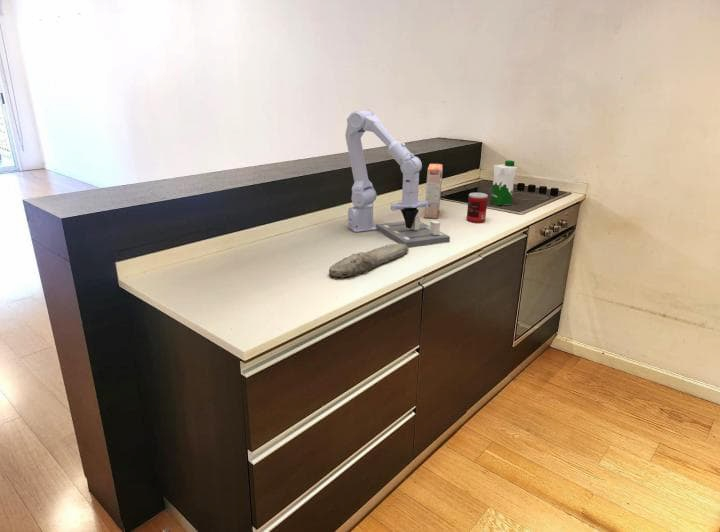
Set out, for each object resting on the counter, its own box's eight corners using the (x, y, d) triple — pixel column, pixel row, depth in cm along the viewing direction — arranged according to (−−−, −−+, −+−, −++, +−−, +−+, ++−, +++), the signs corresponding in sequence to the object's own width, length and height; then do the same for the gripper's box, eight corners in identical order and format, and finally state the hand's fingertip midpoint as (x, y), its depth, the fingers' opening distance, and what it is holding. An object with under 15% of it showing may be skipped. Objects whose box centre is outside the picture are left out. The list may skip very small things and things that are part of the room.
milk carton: (514, 205, 230) (520, 162, 223) (497, 207, 227) (502, 163, 220) (504, 201, 238) (509, 159, 230) (487, 202, 235) (491, 160, 228)
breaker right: (434, 235, 178) (435, 223, 176) (429, 232, 181) (430, 221, 179) (439, 234, 179) (440, 222, 177) (434, 232, 182) (435, 220, 180)
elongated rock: (415, 258, 167) (392, 252, 174) (416, 242, 166) (393, 238, 172) (345, 282, 142) (321, 275, 148) (345, 264, 141) (320, 258, 147)
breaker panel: (405, 247, 172) (405, 242, 171) (376, 229, 192) (376, 224, 192) (449, 241, 179) (449, 236, 178) (416, 224, 199) (416, 219, 198)
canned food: (483, 218, 209) (486, 192, 205) (486, 223, 202) (489, 197, 198) (465, 217, 210) (467, 192, 206) (467, 222, 202) (469, 196, 198)
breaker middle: (414, 230, 183) (415, 218, 182) (410, 227, 186) (410, 216, 185) (419, 229, 184) (420, 218, 183) (415, 227, 187) (416, 216, 185)
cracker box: (438, 219, 207) (441, 169, 199) (423, 218, 208) (426, 168, 201) (440, 211, 220) (443, 163, 212) (426, 210, 221) (429, 163, 213)
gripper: (397, 195, 173) (396, 232, 178) (433, 192, 178) (431, 228, 183) (388, 191, 179) (387, 227, 184) (423, 188, 184) (421, 223, 189)
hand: (408, 227), depth 184 cm, fingers closed
